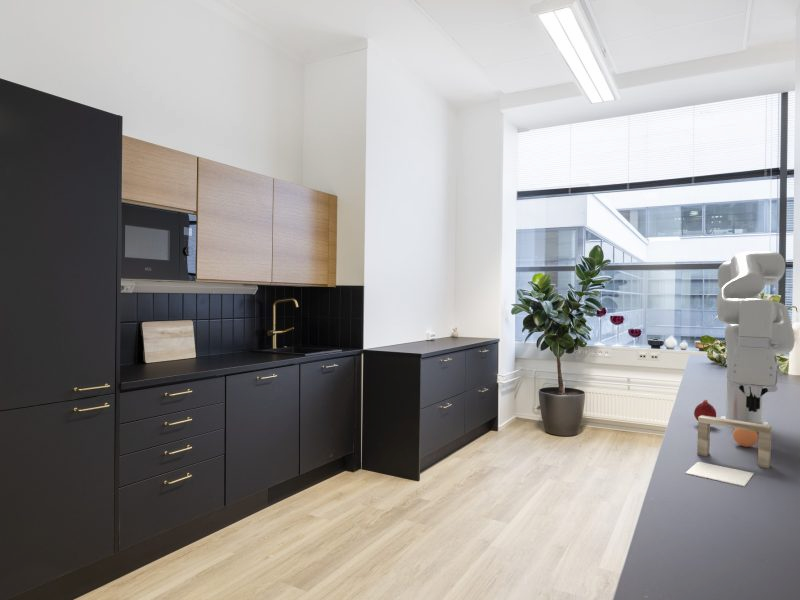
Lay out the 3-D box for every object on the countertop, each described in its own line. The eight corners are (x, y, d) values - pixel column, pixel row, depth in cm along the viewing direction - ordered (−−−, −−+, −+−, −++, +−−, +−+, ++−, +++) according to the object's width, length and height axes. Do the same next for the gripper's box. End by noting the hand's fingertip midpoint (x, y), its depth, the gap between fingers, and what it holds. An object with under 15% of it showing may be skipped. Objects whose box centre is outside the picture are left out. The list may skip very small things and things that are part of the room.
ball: (734, 442, 143) (735, 421, 143) (759, 446, 139) (760, 425, 139) (730, 446, 139) (731, 425, 138) (755, 450, 135) (756, 429, 135)
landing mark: (697, 462, 124) (697, 461, 124) (753, 473, 117) (753, 473, 117) (685, 473, 116) (685, 472, 116) (744, 486, 109) (744, 485, 109)
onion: (719, 429, 157) (719, 402, 157) (697, 427, 158) (698, 400, 158) (711, 424, 162) (712, 398, 162) (691, 423, 163) (691, 397, 163)
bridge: (700, 451, 133) (701, 415, 133) (770, 465, 123) (771, 425, 123) (697, 454, 131) (698, 417, 130) (768, 468, 121) (769, 428, 121)
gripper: (790, 345, 143) (788, 413, 143) (726, 341, 153) (724, 405, 153) (786, 346, 137) (784, 417, 137) (720, 342, 147) (718, 408, 147)
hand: (752, 411), depth 145 cm, fingers closed
